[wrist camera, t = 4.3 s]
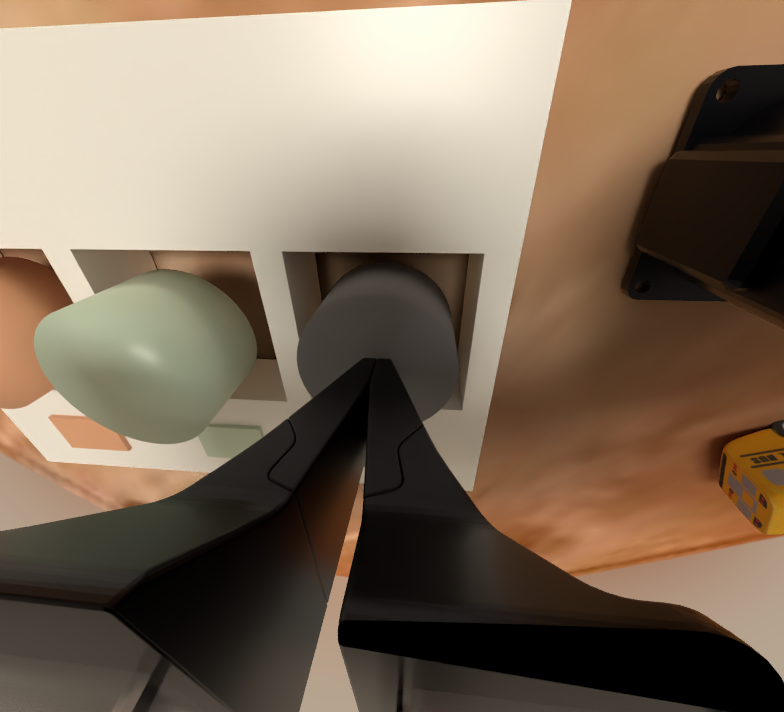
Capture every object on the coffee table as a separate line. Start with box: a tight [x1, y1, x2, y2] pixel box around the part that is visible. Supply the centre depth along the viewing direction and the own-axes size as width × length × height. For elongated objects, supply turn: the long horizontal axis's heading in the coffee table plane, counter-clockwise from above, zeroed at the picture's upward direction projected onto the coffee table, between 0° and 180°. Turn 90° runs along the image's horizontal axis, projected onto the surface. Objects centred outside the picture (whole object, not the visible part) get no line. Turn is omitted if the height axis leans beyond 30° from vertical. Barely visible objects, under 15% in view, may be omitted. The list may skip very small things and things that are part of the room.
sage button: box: [34, 269, 257, 444], centre depth 10 cm, size 5×5×3 cm
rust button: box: [0, 257, 73, 409], centre depth 12 cm, size 5×5×3 cm
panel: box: [0, 0, 572, 491], centre depth 13 cm, size 22×16×3 cm
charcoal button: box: [297, 261, 459, 422], centre depth 11 cm, size 5×5×3 cm
